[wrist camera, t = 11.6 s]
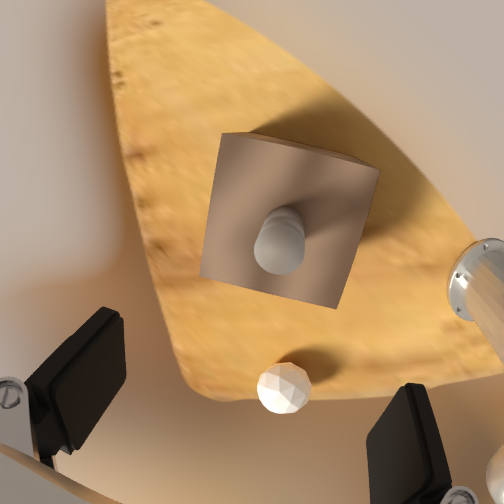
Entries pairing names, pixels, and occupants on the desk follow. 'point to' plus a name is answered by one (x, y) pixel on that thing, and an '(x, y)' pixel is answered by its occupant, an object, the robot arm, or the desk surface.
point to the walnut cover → (285, 217)
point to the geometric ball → (284, 388)
